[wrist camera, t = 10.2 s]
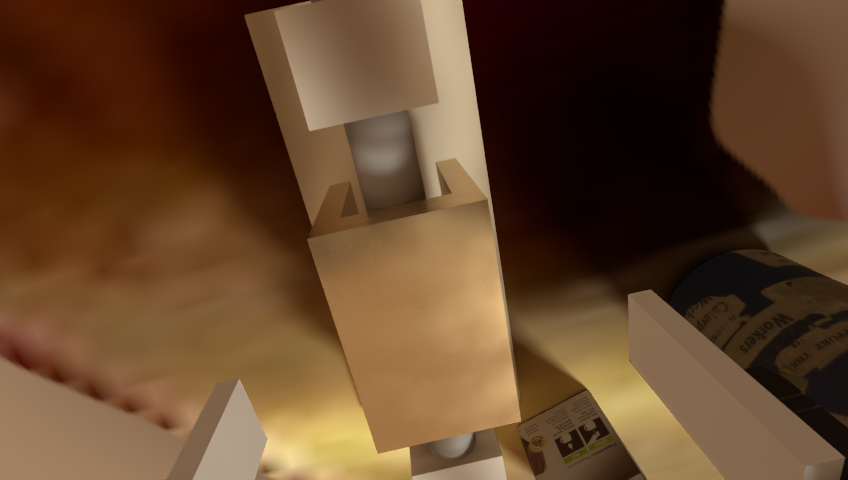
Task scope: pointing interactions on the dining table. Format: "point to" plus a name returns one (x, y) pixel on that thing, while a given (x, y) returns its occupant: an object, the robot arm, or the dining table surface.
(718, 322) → the canister
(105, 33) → the dining table surface
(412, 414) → the block
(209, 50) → the dining table surface
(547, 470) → the coffee box
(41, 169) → the dining table surface
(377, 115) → the shaft rig
